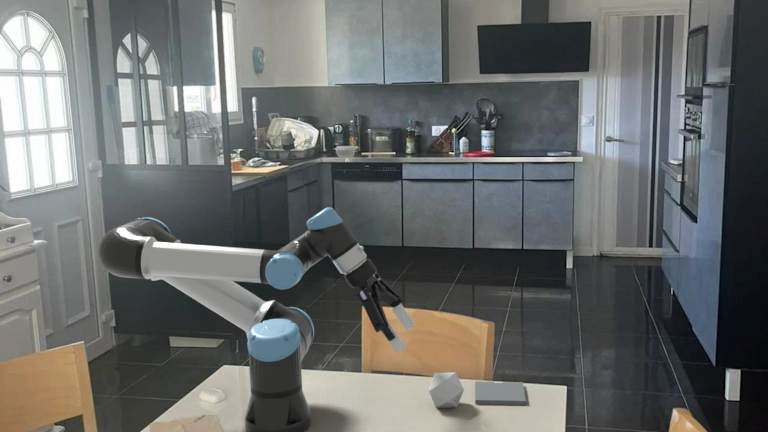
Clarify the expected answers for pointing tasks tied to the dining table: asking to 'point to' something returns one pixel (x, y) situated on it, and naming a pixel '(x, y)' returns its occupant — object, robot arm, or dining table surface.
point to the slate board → (499, 393)
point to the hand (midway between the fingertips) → (406, 338)
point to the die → (446, 390)
